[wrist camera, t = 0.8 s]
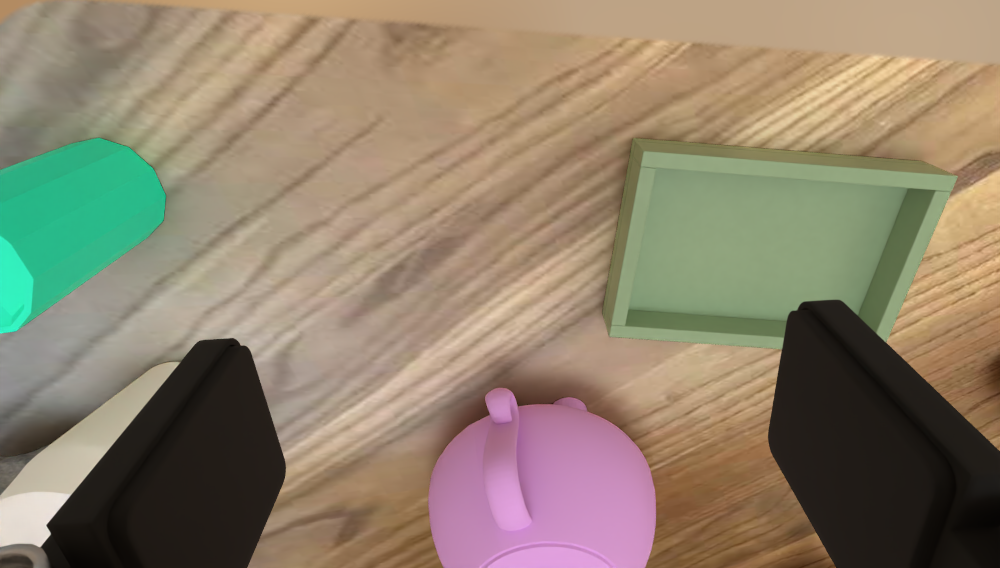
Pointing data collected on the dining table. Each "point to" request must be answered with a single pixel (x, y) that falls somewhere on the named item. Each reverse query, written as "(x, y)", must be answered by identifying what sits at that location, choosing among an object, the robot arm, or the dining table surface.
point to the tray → (763, 239)
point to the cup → (70, 462)
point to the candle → (70, 222)
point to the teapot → (541, 491)
